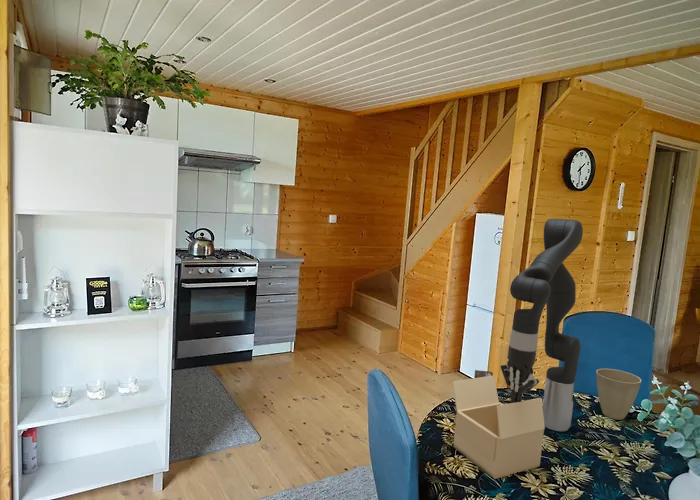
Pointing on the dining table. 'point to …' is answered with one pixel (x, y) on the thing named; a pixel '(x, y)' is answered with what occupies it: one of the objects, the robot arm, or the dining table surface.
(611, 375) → the plant pot
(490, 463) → the carton
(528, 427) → the flap
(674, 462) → the dining table surface
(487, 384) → the flap
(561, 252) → the robot arm
